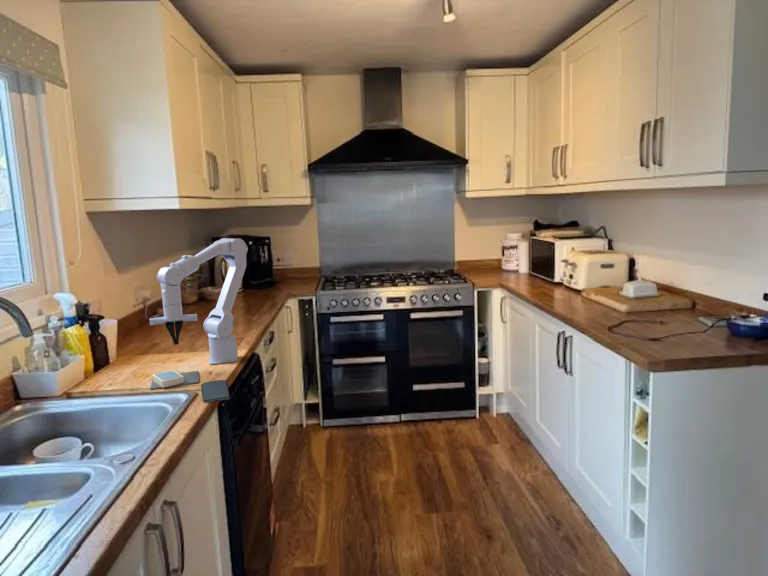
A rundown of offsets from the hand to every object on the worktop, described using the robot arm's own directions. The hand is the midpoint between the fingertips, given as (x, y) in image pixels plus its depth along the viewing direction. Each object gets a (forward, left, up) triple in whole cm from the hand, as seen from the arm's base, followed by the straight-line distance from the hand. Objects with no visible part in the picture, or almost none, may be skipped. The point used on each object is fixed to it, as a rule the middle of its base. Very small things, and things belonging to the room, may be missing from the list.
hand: (176, 343), depth 177 cm
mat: (+1, +8, -10) cm, 13 cm away
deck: (0, +9, -8) cm, 12 cm away
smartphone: (-10, +25, -11) cm, 29 cm away
